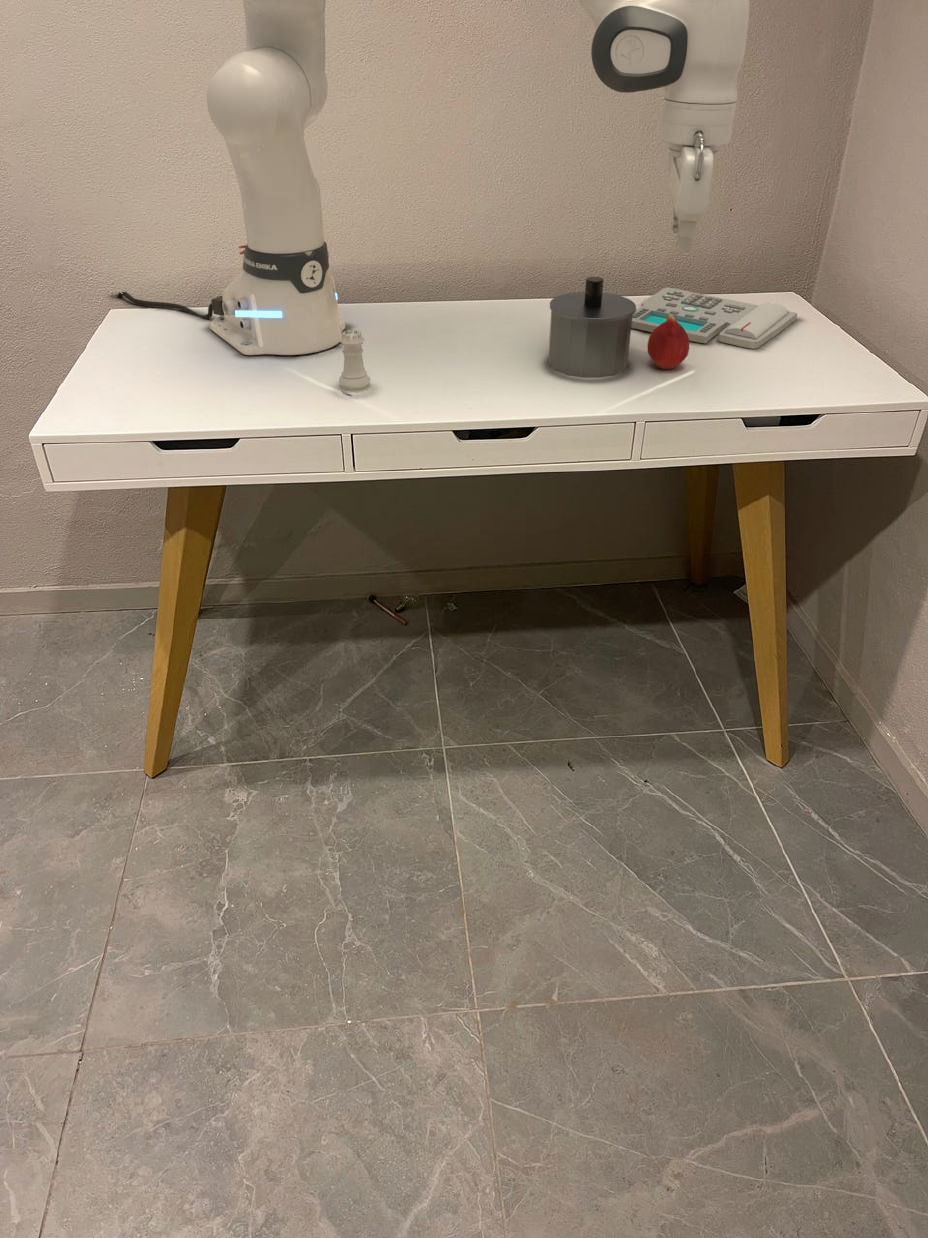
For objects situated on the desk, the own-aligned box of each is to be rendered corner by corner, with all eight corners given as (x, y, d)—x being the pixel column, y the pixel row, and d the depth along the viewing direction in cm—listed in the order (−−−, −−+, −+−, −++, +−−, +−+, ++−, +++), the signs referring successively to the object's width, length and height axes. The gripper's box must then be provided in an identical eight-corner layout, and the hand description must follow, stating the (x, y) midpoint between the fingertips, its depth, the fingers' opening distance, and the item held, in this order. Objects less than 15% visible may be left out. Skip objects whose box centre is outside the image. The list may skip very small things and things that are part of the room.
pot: (532, 366, 140) (535, 307, 135) (582, 347, 146) (586, 290, 142) (592, 387, 134) (597, 326, 129) (641, 367, 140) (648, 308, 135)
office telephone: (800, 304, 156) (757, 338, 143) (796, 320, 158) (754, 356, 144) (667, 278, 167) (615, 308, 153) (665, 294, 168) (613, 325, 154)
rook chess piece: (358, 399, 130) (354, 340, 125) (332, 392, 132) (327, 334, 127) (378, 388, 133) (375, 331, 128) (352, 381, 135) (348, 325, 130)
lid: (538, 302, 139) (539, 269, 136) (616, 296, 141) (619, 264, 139) (565, 329, 129) (568, 294, 127) (649, 322, 132) (652, 288, 129)
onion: (691, 368, 140) (699, 313, 135) (676, 381, 136) (684, 324, 131) (654, 360, 142) (661, 306, 137) (638, 372, 138) (644, 316, 133)
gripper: (731, 140, 112) (711, 263, 120) (714, 114, 128) (698, 223, 136) (676, 138, 112) (660, 261, 120) (666, 112, 129) (653, 221, 137)
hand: (680, 240), depth 129 cm, fingers open, 8 cm apart
